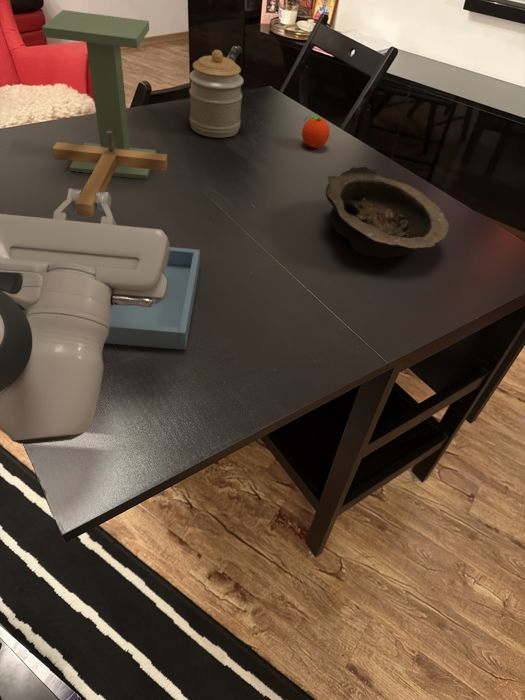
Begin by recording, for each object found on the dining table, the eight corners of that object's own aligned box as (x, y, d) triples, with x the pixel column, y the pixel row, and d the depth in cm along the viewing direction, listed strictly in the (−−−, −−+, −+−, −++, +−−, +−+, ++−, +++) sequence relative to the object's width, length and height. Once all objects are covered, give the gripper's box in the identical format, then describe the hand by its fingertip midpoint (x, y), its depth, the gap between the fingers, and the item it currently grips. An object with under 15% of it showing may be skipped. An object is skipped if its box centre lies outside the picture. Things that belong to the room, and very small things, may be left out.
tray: (44, 338, 68) (39, 320, 66) (82, 255, 82) (79, 238, 79) (185, 350, 70) (185, 333, 67) (199, 266, 83) (199, 249, 81)
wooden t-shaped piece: (19, 209, 56) (10, 177, 53) (58, 152, 66) (52, 123, 63) (149, 222, 57) (147, 192, 54) (167, 164, 67) (166, 136, 64)
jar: (187, 116, 126) (186, 39, 113) (236, 118, 128) (241, 43, 116) (191, 138, 117) (191, 57, 104) (243, 139, 120) (249, 61, 107)
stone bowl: (294, 209, 99) (304, 166, 93) (392, 206, 108) (408, 166, 102) (350, 282, 84) (367, 236, 77) (459, 270, 93) (483, 229, 87)
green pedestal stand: (70, 171, 100) (41, 26, 81) (85, 146, 109) (62, 9, 90) (147, 179, 101) (136, 38, 83) (156, 154, 110) (148, 20, 91)
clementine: (291, 142, 122) (295, 113, 117) (309, 136, 125) (314, 108, 120) (313, 155, 118) (319, 125, 113) (332, 149, 122) (338, 120, 117)
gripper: (160, 299, 52) (174, 187, 55) (-33, 282, 51) (-8, 168, 54) (167, 316, 58) (179, 214, 62) (-6, 301, 57) (15, 198, 60)
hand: (90, 192), depth 58 cm, fingers closed on wooden t-shaped piece, 2 cm apart
